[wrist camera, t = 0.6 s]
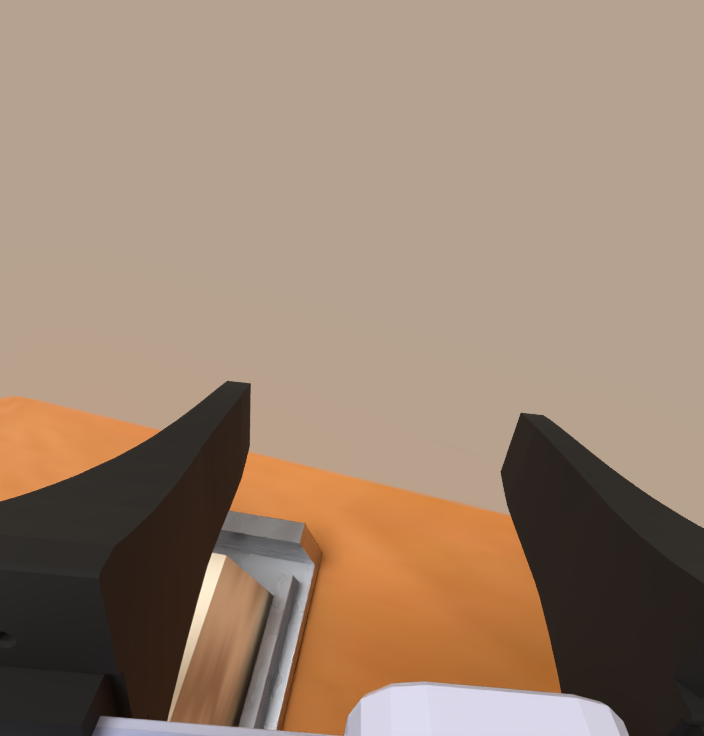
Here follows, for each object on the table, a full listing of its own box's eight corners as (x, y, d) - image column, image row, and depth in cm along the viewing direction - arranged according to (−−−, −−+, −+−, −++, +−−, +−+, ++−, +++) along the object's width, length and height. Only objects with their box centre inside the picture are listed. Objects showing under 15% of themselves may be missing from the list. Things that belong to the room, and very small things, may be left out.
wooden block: (208, 849, 20) (107, 903, 14) (153, 831, 21) (34, 874, 15) (275, 597, 26) (226, 555, 20) (231, 588, 27) (170, 544, 20)
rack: (227, 961, 19) (174, 1020, 15) (-32, 859, 22) (-134, 887, 18) (322, 552, 28) (304, 523, 24) (129, 518, 31) (85, 487, 27)
